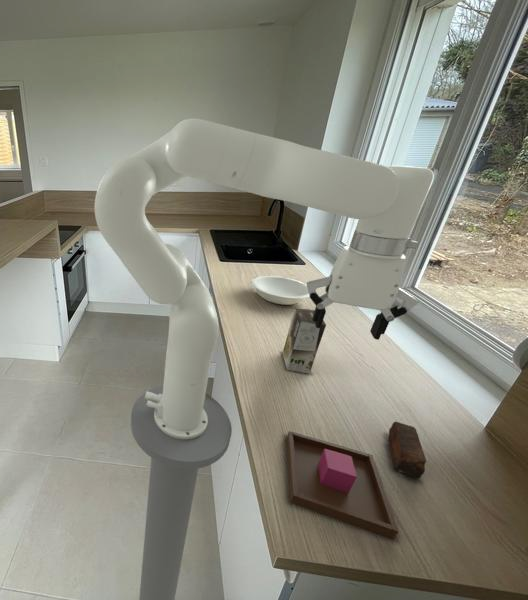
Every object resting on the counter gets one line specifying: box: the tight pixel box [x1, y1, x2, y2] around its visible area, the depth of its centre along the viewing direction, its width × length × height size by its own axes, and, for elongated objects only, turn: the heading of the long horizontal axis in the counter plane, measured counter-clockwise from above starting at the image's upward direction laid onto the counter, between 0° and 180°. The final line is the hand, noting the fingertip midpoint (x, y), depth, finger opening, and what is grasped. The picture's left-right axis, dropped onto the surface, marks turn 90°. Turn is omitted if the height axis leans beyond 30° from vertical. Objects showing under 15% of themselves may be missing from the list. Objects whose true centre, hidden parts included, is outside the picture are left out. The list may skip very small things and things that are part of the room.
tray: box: [286, 430, 399, 540], centre depth 61 cm, size 16×16×2 cm
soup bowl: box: [250, 274, 310, 306], centre depth 135 cm, size 24×24×7 cm
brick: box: [388, 421, 427, 480], centre depth 66 cm, size 11×4×5 cm, turn 151°
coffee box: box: [282, 307, 327, 374], centre depth 93 cm, size 9×6×16 cm
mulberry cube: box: [318, 449, 357, 493], centre depth 61 cm, size 5×5×5 cm
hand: (344, 330), depth 62 cm, fingers open, 9 cm apart
